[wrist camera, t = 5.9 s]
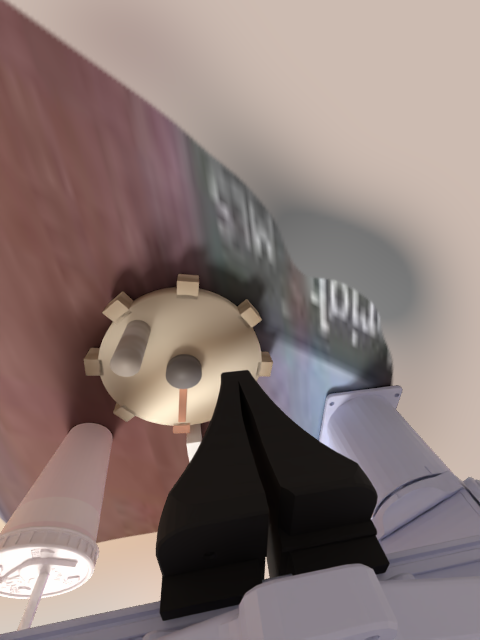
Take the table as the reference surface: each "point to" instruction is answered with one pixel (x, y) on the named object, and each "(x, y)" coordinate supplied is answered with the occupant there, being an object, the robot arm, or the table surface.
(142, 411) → the sprocket
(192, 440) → the index pointer
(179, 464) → the table surface
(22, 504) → the smoothie
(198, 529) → the robot arm
